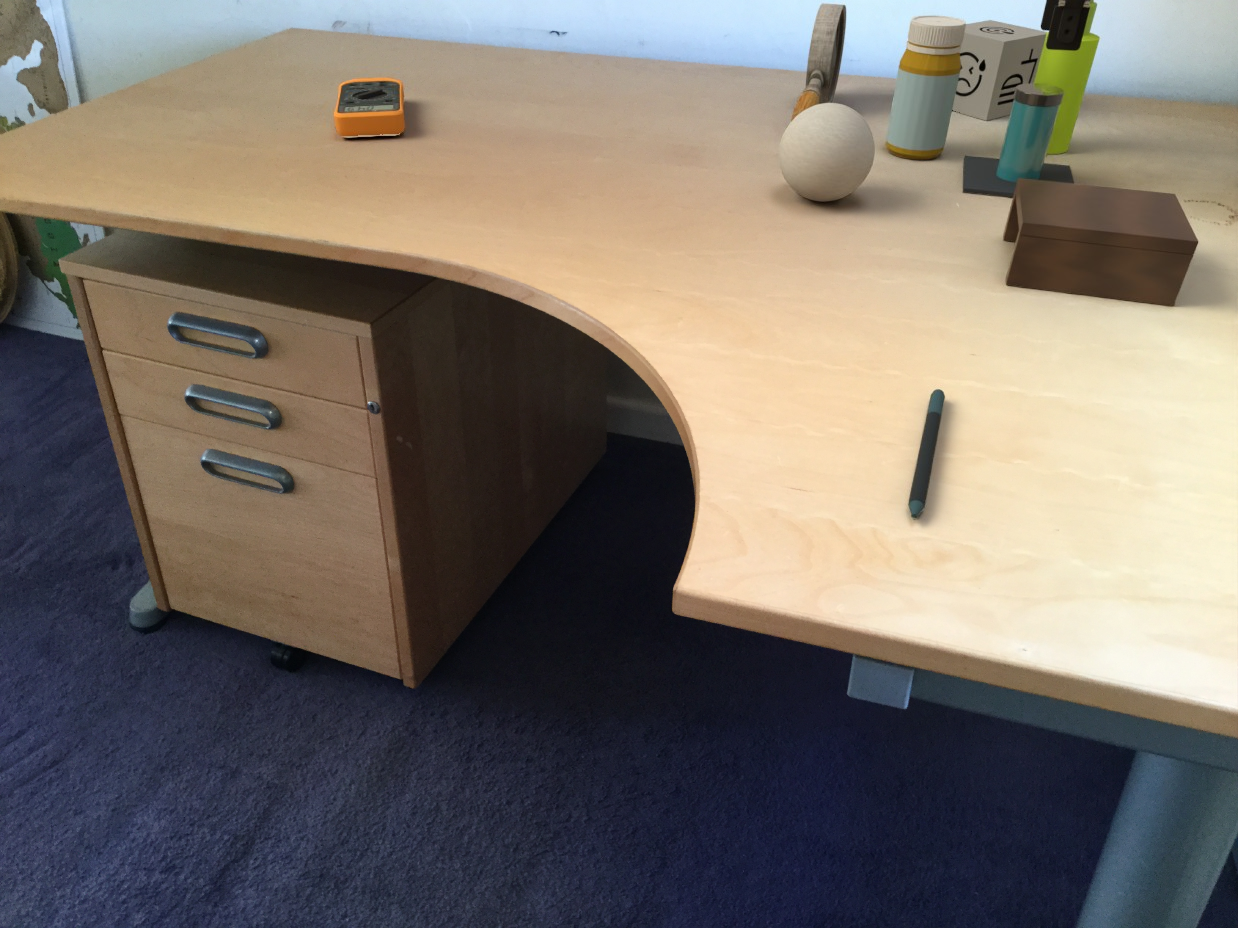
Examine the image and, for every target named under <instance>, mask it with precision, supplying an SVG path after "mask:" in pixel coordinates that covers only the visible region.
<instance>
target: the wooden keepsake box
mask: <svg viewBox="0 0 1238 928" xmlns="http://www.w3.org/2000/svg"><path fill="white" fill-rule="evenodd" d="M1010 204H1011V205H1010V207H1009V211H1008V215H1007V218H1006V222H1005V227H1004V230H1003V234H1002V240H1003V241H1005V242H1013V243H1015V244H1014V247H1013V251H1012V254H1011V258H1010V262H1009V265H1008V269H1007V274H1006V277H1005V286H1011V287H1020V288H1027V289H1034V290H1043V291H1051V292H1057V293H1058V292H1059V293H1065V294H1066V293H1067V294H1073V295H1081V296H1090V297H1098V298H1106V299H1114V300H1122V301H1129V302H1136V303H1138V302H1139V303H1143V304H1144V303H1145V304H1152V305H1153V304H1154V305H1160V306H1170V307H1174V306H1175V304H1176V301H1177V299H1178V297H1179V293H1180V291H1181V289H1182V286H1183V284H1184V281H1185V278H1186V276H1187V274H1188V271H1189V267H1190V265H1191V263H1192V260H1193V257H1194V255H1195V252H1196V250H1197V247H1198V245H1199V243H1200V242H1199V239H1198V238H1197V236H1196V234H1195V231H1194V229H1193V227H1192V225H1191V223H1190V221H1189V219H1188V217H1187V215H1186V213H1185V211H1184V208H1183V206H1182V205H1181V203H1180V201H1179V199H1178V197H1177V195H1176V193H1171V192H1162V191H1161V192H1160V191H1151V190H1140V189H1131V188H1122V187H1111V186H1110V187H1109V186H1102V185H1092V184H1081V183H1074V184H1073V183H1063V182H1053V181H1043V180H1033V179H1023V178H1018V180H1017V184H1016V187H1015V191H1014V195H1013V197H1012V200H1011V203H1010Z"/></svg>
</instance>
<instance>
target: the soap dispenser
mask: <svg viewBox="0 0 1238 928" xmlns="http://www.w3.org/2000/svg"><path fill="white" fill-rule="evenodd" d="M1089 7H1090V10H1089V14H1088V18H1087V22H1086V26H1085V30H1084V34H1083V38H1082V42H1081V45H1080V48H1079V49H1078V50H1076V51H1070V50H1049V49H1047V48H1046V42H1047V38H1048V33H1049V31H1046V32H1047V34H1046V38H1045V41H1044V45H1043V49H1042V53H1041V57H1040V61H1039V65H1038V69H1037V73H1036V77H1035V81H1034V84H1045V85H1051V86H1055V87H1058V88H1061V89H1062V90H1064V96H1063V99H1062V103H1061V104H1060V107H1059V110H1058V114H1057V118H1056V121H1055V125H1054V129H1053V132H1052V136H1051V139H1050V143H1049V147H1048V150H1047V154H1046V155H1060V154H1064V153H1066V152H1068V150H1069V148H1070V144H1071V140H1072V137H1073V134H1074V130H1075V128H1076V127H1075V126H1076V123H1077V119H1078V116H1079V113H1080V108H1081V105H1082V102H1083V98H1084V96H1085V95H1084V94H1085V91H1086V88H1087V85H1088V80H1089V77H1090V74H1091V70H1092V67H1093V64H1094V59H1095V57H1096V53H1097V49H1098V45H1099V42H1100V39H1101V37H1100V36H1099V35H1097V34H1095V33H1093V32H1091V29H1092V25H1093V22H1094V18H1095V14H1096V11H1097V7H1098V3H1097V2H1095V0H1091V1H1090V5H1089Z"/></svg>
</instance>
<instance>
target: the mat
mask: <svg viewBox="0 0 1238 928" xmlns="http://www.w3.org/2000/svg"><path fill="white" fill-rule="evenodd" d="M998 162H999V158H997V157H986V156H975V155H966V154H965V155H964V156H963V167H962V168H963V170H962V171H963V172H962V173H963V174H962V175H963V176H962V193H966V194H967V193H968V194H976V195H985V196H986V195H987V196H994V197H995V196H997V197H1005V198H1013V195H1014V191H1015V187H1016V184H1017V183H1015V182H1010V181H1006V180H1003V179H1001V178H999V177H998V176H997V175H996V170H997V166H998ZM1039 180H1043V181H1053V182H1063V183H1073V184H1075V181H1074V176H1073V173H1072V169H1071V165H1070V164H1069V165H1067V164H1056V163H1047V162H1044V165H1043V169H1042V172H1041V176H1040V179H1039Z"/></svg>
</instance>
